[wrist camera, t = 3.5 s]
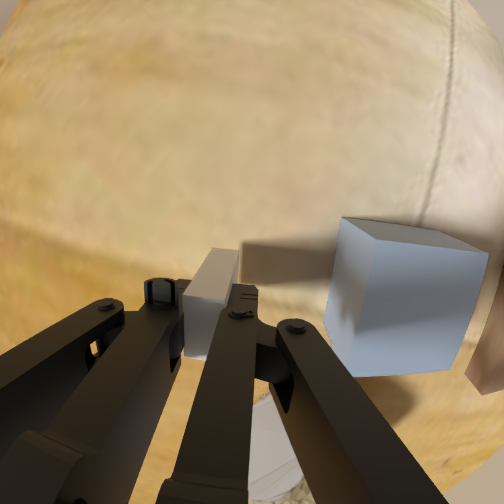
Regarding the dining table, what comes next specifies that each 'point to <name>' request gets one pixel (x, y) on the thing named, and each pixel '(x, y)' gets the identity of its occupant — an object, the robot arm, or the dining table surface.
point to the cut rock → (273, 460)
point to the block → (400, 297)
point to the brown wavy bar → (490, 349)
